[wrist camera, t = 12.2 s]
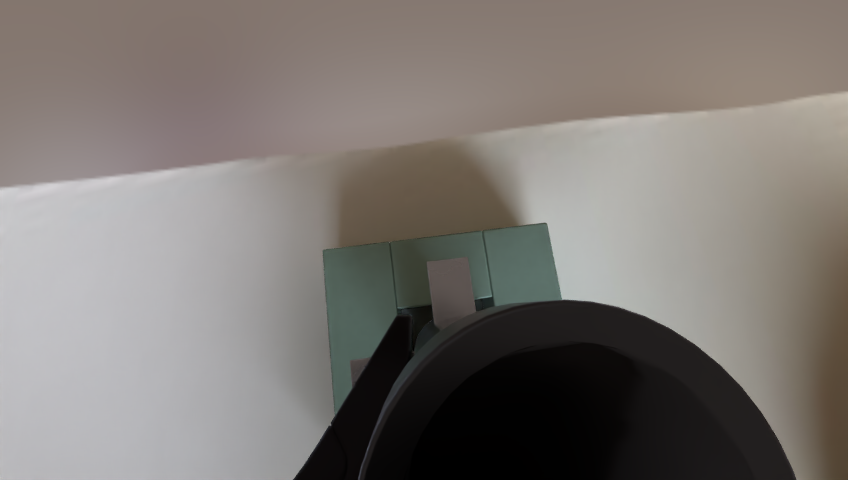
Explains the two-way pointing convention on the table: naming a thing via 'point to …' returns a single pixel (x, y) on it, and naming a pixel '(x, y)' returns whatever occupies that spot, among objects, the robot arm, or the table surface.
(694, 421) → the black flanged tube
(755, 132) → the table surface
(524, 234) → the green square frame
